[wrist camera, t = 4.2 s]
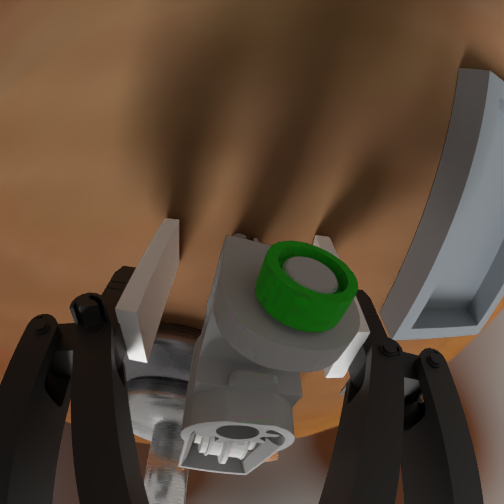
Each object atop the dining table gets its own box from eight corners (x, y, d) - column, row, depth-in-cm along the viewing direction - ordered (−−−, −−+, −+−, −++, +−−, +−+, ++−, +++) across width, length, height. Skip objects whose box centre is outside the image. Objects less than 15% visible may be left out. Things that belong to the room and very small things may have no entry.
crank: (104, 367, 17) (64, 504, 8) (241, 388, 18) (239, 543, 9) (140, 437, 25) (126, 521, 16) (228, 449, 26) (225, 537, 16)
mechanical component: (304, 158, 12) (409, 325, 4) (246, 319, 17) (244, 479, 9) (240, 140, 12) (213, 291, 3) (199, 309, 17) (173, 470, 9)
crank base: (64, 304, 17) (28, 366, 12) (300, 336, 18) (311, 415, 13) (114, 409, 26) (102, 452, 21) (261, 430, 27) (262, 477, 22)
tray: (459, 67, 9) (489, 70, 7) (538, 128, 10) (562, 138, 8) (379, 312, 17) (391, 340, 15) (464, 313, 18) (477, 334, 16)
